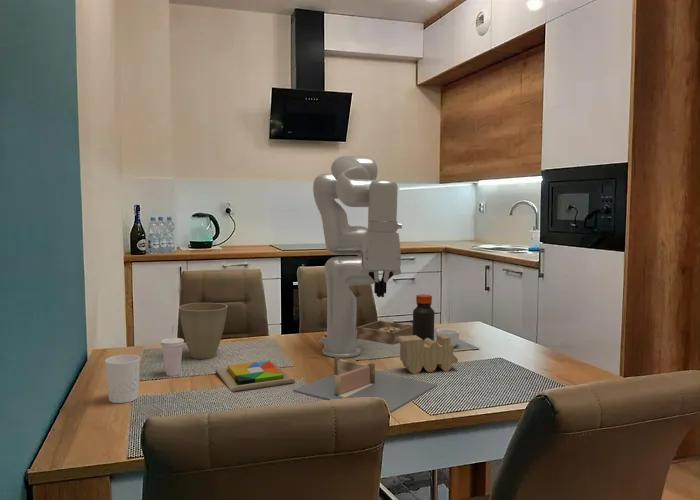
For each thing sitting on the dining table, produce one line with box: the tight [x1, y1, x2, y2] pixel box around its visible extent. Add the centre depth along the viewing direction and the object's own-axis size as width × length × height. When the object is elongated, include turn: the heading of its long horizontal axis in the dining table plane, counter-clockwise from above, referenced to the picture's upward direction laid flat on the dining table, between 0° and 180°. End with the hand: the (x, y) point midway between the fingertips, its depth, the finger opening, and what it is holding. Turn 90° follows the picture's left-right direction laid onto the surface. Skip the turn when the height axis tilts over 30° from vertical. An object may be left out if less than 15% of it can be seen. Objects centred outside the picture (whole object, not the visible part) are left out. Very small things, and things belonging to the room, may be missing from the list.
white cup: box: [104, 354, 141, 404], centre depth 136 cm, size 8×8×10 cm
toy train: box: [397, 334, 459, 375], centre depth 163 cm, size 6×17×10 cm, turn 104°
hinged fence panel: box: [335, 366, 370, 395], centre depth 144 cm, size 13×2×4 cm, turn 139°
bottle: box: [412, 293, 435, 342], centre depth 176 cm, size 7×7×20 cm
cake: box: [378, 325, 400, 332], centre depth 203 cm, size 10×10×5 cm
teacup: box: [435, 328, 460, 348], centre depth 193 cm, size 10×8×5 cm
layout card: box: [293, 371, 438, 414], centre depth 146 cm, size 28×26×1 cm
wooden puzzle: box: [215, 360, 295, 393], centre depth 154 cm, size 18×19×4 cm
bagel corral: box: [356, 319, 413, 345], centre depth 204 cm, size 16×16×4 cm
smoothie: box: [160, 324, 185, 377], centre depth 156 cm, size 6×6×14 cm
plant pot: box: [178, 302, 228, 360], centre depth 176 cm, size 15×15×16 cm
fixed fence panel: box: [333, 357, 376, 384], centre depth 153 cm, size 13×2×5 cm, turn 55°
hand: (380, 296), depth 148 cm, fingers closed
